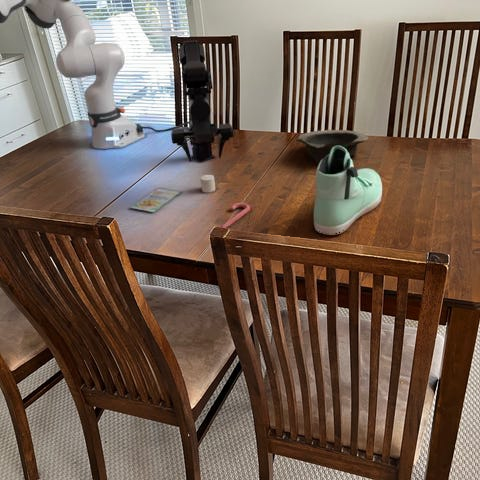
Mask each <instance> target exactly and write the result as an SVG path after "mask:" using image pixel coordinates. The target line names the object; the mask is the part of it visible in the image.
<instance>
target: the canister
mask: <svg viewBox="0 0 480 480" xmlns="http://www.w3.org/2000/svg"><path fill="white" fill-rule="evenodd" d="M215 181H216V180H215V175H213V174H203V175H201V176H200V187H201V192H203V193H207V194H208V193H213V192H215V191H216V183H215Z"/></svg>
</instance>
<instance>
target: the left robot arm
mask: <svg viewBox="0 0 480 480" xmlns="http://www.w3.org/2000/svg"><path fill="white" fill-rule="evenodd" d="M22 8H23V9H24V12H25V13H26V14H27V16H28V18H29V19H30V21H31V22H32V23H33V24H34V25H35V26H37V27H39V28H41V29H45V30H47V29H51V28H53V26H54V25H55V24H56V23H57V20H59V22H60V26H61V29H62V32H63V34H64V37H65V40H66V45H64V47H63V48H62V49H60V50H59V51H58V53H57V55H56V59H55V65H56V68H57V71H58V72H59V73H60V74H61V75H62V76H63V77H64V78H69V79H80V78H87V77H94V76H95V80H94V81H93V82H92V83H91V84H90V85H89V86H88V87H87V88H86V89H85V90H84V93H83V95H84V100H85V104H86V109H87V118H88V122H89V125H90V127H91V128H90V129H91V137H92V138H91V140H92V141H91V147H92V148H94V149H98V150H107V149H121V148H122V149H123V148H124V147H127V146H128V145H131V144H132V143H135V142H137V141H139V140H141V139H143V138H145V137H146V135H145V133H144V130H145V129H146V130H147V129H148V130H152V131H153V132H156V133H163V132H169V131H172V130H173V129H180V128H181V127H183V126H186V125H190V121H191V120H189V121H186V122H184V123H181V124H179V125H176V126H173V127H169V128H166V129H156V128H153V127H151V126H142V124H140V123H135V122H134V121H133V120H131V119H129V118H127V117H125V116H123V115H122V114H125V112H126V109H125V108H124V107H123V108H122V107H117V106H116V103H115V96H114V84H115V80H116V78H117V75H118V73H119V72H120V71H121V70H122V69H123V67H124V65H125V58H126V57H125V53H124V51H123V49H122V48H121V47H120V45H118V44H117V43H112V42H100V43H96V39H97V38H96V34H95V31H94V29H93V27H92V25H91V22H90V20H89V19H88V16H87V15H86V13H85V12H84V10H83V9H82V8H81V7H80V6H79V5H77V4H75V3H73V1H72V0H0V24H3V23H5V22H7V20H8V19H9V17H10V16H11V14H12V13H13V12H14V11H17V10H20V9H22ZM2 62H3V56H2V54H1V53H0V64H2Z"/></svg>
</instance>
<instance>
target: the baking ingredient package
mask: <svg viewBox="0 0 480 480" xmlns="http://www.w3.org/2000/svg"><path fill="white" fill-rule="evenodd" d="M180 192H181V191H177V190H176V191H175V190H169V189H164V188H163V189H162V188H156V189H155V190H153V191H152V192H150V193H148V194H147V195H146V196H145V197H144V198H142V199H140V200H139V201H138V202H136V203H134V204H133V205H132V206H130V209H135V210H140V211H145V212H151V213H155V212H157V210H159V209H160V208H161V207H163V206H164V205H165V204H167V203H168V202H169V201H170V200H172V199H174V198H175V197H176V196H177V195H179V194H180Z"/></svg>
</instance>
